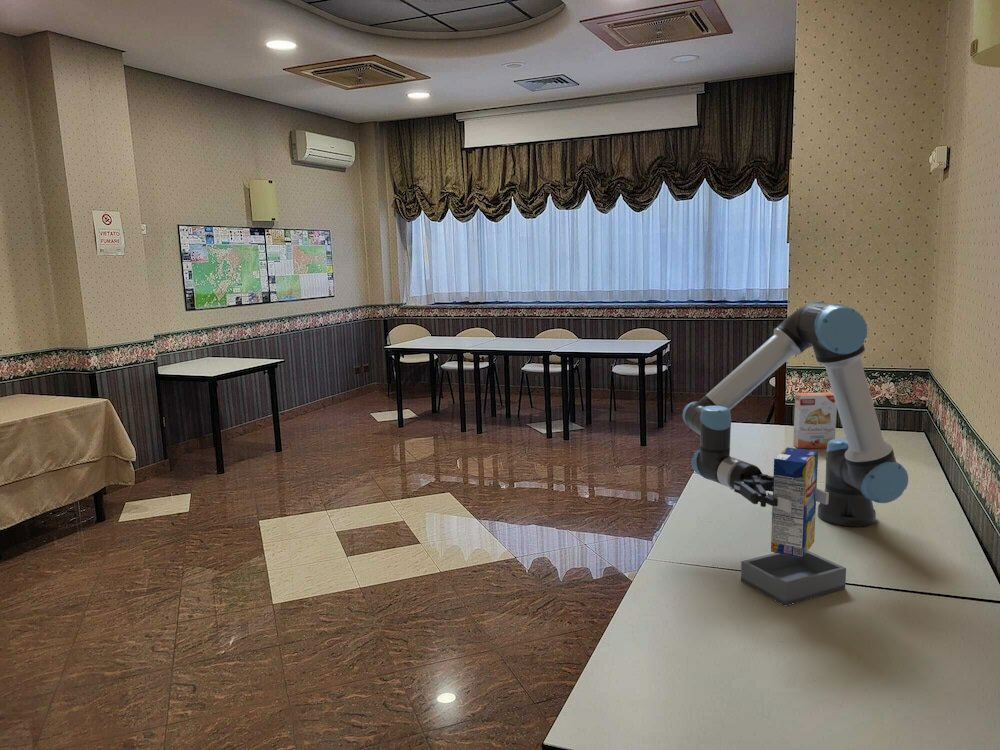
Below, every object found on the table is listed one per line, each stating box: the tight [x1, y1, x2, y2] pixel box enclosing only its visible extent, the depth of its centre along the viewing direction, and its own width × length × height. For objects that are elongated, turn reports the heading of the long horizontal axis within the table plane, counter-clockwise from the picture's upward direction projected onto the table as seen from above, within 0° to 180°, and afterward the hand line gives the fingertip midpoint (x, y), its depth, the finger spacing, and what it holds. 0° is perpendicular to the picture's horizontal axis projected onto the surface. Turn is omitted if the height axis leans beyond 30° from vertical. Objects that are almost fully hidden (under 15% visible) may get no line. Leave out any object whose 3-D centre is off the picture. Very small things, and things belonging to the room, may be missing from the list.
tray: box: [740, 550, 847, 606], centre depth 173 cm, size 18×14×5 cm
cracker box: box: [792, 391, 838, 449], centre depth 284 cm, size 14×6×21 cm, turn 88°
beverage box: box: [770, 447, 819, 558], centre depth 170 cm, size 7×11×22 cm, turn 144°
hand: (809, 502), depth 166 cm, fingers closed on beverage box, 10 cm apart
